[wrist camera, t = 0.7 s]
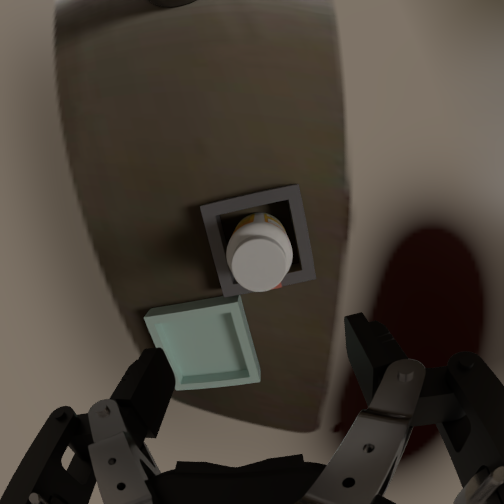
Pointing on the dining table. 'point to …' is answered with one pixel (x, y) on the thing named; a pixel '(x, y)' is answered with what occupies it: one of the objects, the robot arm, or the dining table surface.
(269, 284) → the supplement bottle
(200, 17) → the dining table surface
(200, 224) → the dining table surface
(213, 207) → the socket collar
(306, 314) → the dining table surface
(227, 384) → the tray
